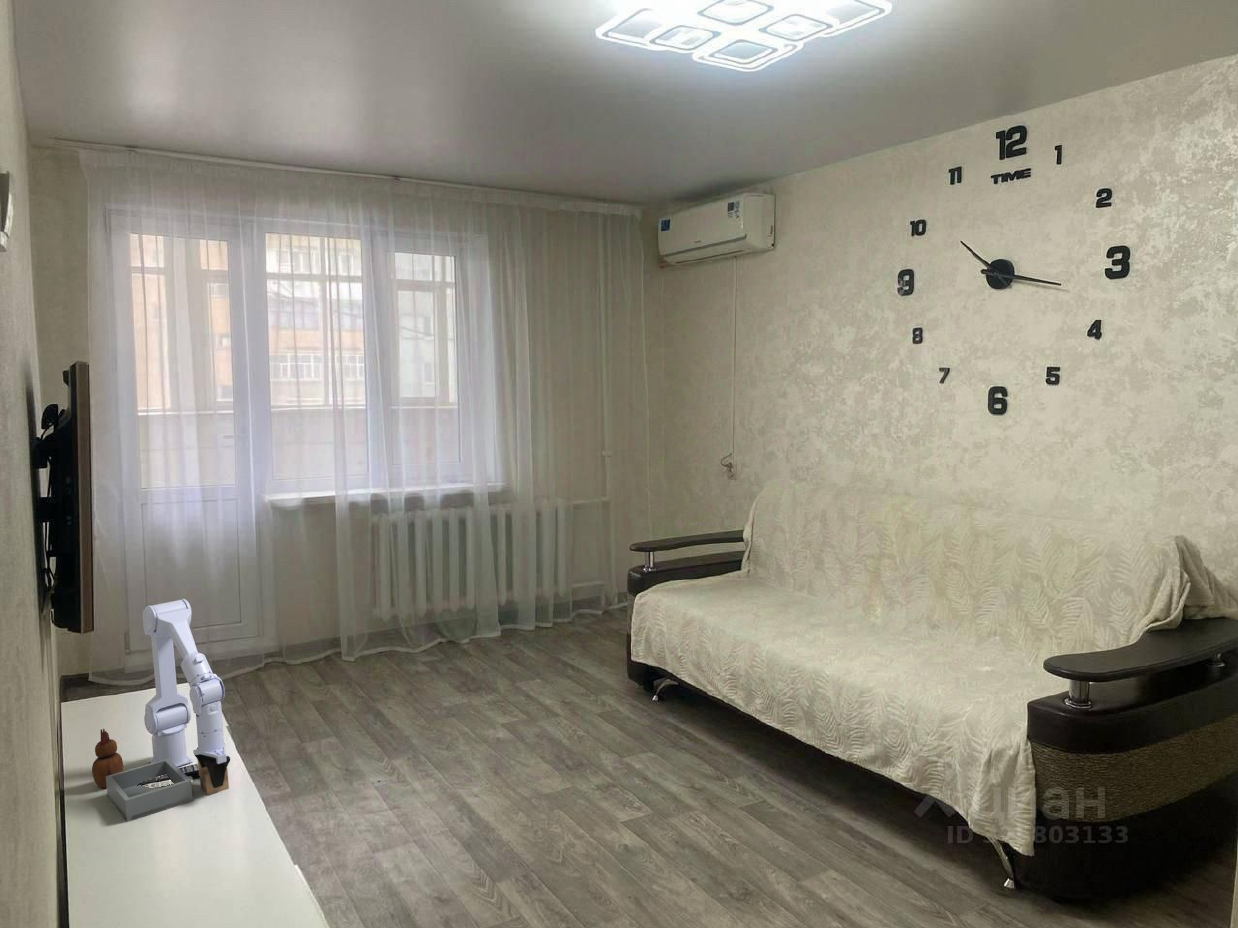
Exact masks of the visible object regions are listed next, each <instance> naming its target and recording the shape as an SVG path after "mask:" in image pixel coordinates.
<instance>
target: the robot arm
mask: <svg viewBox="0 0 1238 928" xmlns="http://www.w3.org/2000/svg"><path fill="white" fill-rule="evenodd" d="M142 623H143V624H142V625H143V626H142V627H143V631H144V635H146V636H150V639H151V651H152V652H151V653H152V663H153V672H154V673H153V674H154V685H155V686H154V687H155V695H154V696H153V697H152V698H151V699H150V700H149V701H147V703H146V704H145V708H144V716H143V717H144V718H143V719H144V721H143V722H144V725H145V730H146V731H147V733H150V734H151V735H152V736H151V743H152V744H151V745H152V748H151V749H152V757H153V758H151V759H149V764H151V763H154V762H158V761H161V760H165V759H169V760H170V761H171V762H172V763H173V764H174V765H175V766H177V767H181V766H184V765H185V766H186V765H188V764H191V763H193V760H192V759H191V758H190V757H189V756H188V755H187V747H186V746H187V745H186V733H185V731H186V730H185V729H187V728H188V726H187V724H189V723H190V721H191V718H192V712H191V711H193V714H195V720H196V723H195V724H196V735H197V747H198V749H197V748H196V749H193V752H192V753H193V754H194V756H195V759H198V760H197V762H198V761H199V763H200V765H201V768H204V767H207V769H208V771H209V774H210V777H211V782H212V785H213V787H214V788H217V787H220V786H223V783H224V777H225V772H226V768H227V769H228V765H229V763H230V762H231V757H230V756H229V755H227V753H226V743H225V737H224V726H223V725H224V723H223V712H222V711H223V709H222V701H223V700H224V699H225V696H226V689H225V685H224V683H223V680H222V679H221V678H220V677H219V676H218V675H217V674H216V673H213V670H212V669H211V666H210V663H209V661H208V660H207V658H206V655H205V654H204V653H200V652H198V648H197V646H196V643H195V639H194V637H193V633H192V631H191V627H190V625H191V623H192V607H191V604H190V603H189V601H188V600H187V599H185V598H181V599H176V600H174V601H173V600H172V601H168V602H163V603H158V604H154V605H147V606H145V609H144V610H143V611H142ZM174 645H175V647H176V649H177V651H178V653H179V654H180V656H181V658H182V662H181V663H180V667H181V670H182V673H183V674H184V677H185V679H186V681H187V683H188V686H189V694H188V695H189V699H190V702H191V704H192V705H191V706H192V710H191V707H190V703H189V699H188V697H187V696H186V695H185V694H183V693H181V692H178V685H177V684H178V683H177V674H176V664H175V663H176V659H175V651H174V650H175V649H174Z"/></svg>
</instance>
